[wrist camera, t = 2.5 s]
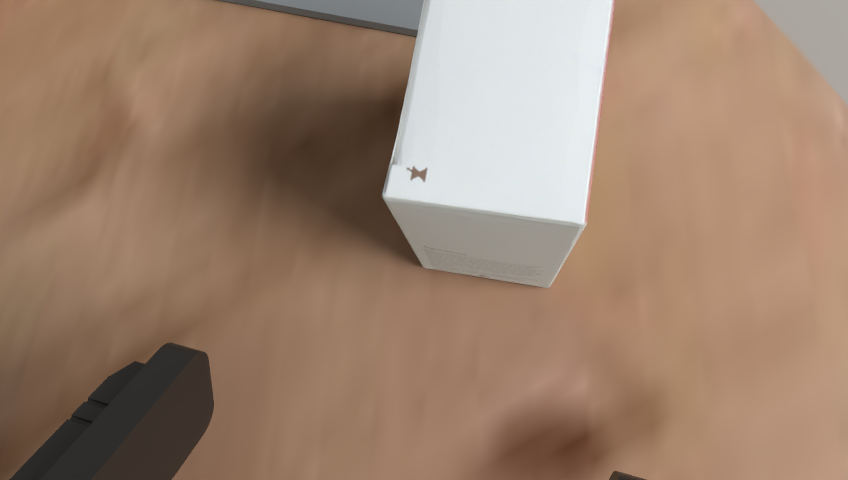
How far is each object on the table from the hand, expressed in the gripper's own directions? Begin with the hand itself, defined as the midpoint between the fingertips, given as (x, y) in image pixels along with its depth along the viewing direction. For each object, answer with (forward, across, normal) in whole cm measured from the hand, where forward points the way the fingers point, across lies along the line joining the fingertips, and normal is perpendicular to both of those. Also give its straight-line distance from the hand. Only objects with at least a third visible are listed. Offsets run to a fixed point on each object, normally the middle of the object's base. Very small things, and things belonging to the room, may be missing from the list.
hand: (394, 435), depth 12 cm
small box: (+17, 0, +3) cm, 17 cm away
